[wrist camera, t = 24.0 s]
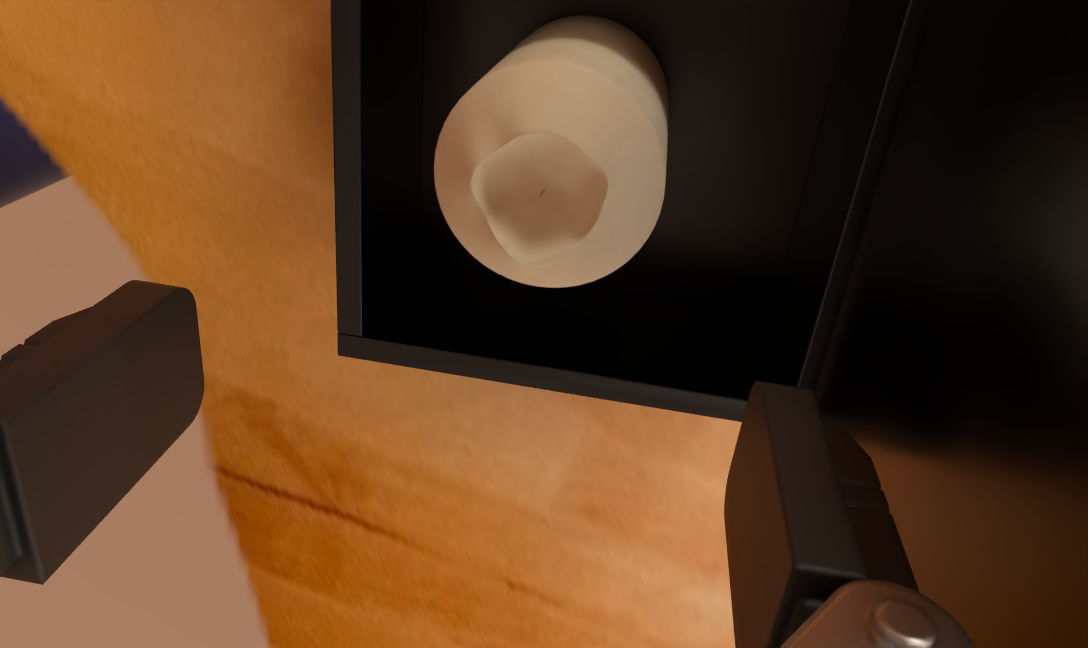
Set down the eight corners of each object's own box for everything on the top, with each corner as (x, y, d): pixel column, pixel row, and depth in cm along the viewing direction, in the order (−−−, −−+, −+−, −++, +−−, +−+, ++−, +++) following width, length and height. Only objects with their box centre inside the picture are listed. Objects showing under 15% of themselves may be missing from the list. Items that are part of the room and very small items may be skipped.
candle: (628, 208, 28) (605, 348, 19) (479, 147, 28) (388, 260, 19) (698, 54, 26) (708, 135, 17) (534, -15, 25) (458, 30, 17)
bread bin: (402, 269, 32) (337, 355, 26) (410, -172, 25) (325, -195, 19) (785, 328, 30) (810, 434, 24) (907, -118, 23) (985, -123, 17)
